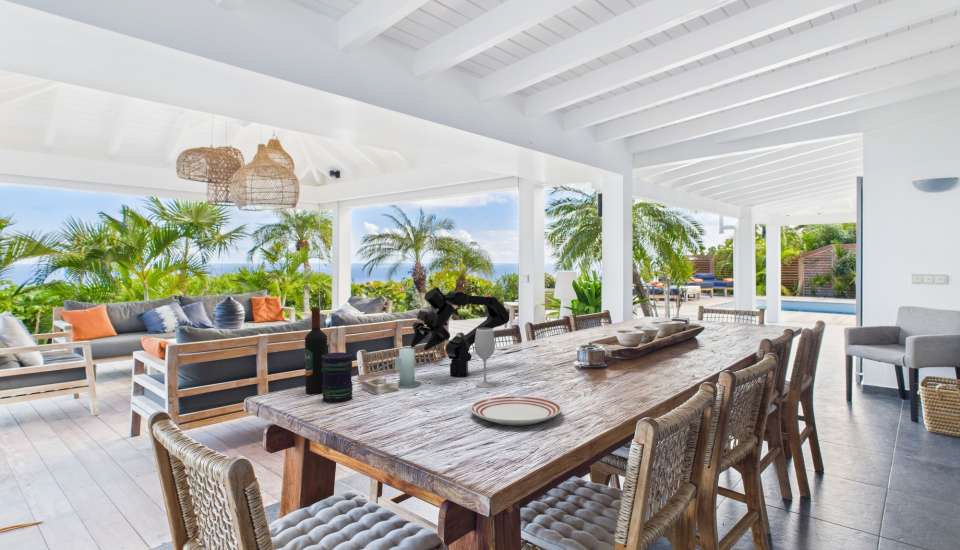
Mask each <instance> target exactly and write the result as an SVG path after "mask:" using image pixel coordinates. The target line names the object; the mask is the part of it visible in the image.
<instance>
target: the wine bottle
mask: <svg viewBox="0 0 960 550" xmlns="http://www.w3.org/2000/svg"><path fill="white" fill-rule="evenodd" d="M324 354H328V337H327V334H326V333H325V332H323V331H322V329H321V307H320V306H311V329H310V331H309V332H308V333H307V334H306V335H305V336H304V361H305V362H304V365H305V367H304V370H305V371H304V373H305V393H306V394H307V395H320V394H322V384H323V373H322V360H323V359H322V355H324ZM322 395H323V394H322Z"/></svg>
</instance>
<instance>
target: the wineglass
mask: <svg viewBox="0 0 960 550" xmlns="http://www.w3.org/2000/svg"><path fill="white" fill-rule="evenodd" d="M494 333H495V332H494V328H493V329H492V328H477V330H476V336H475V343H474V352H475V354H477V356H478V357H479V359H481V360H482V361H483V380H482V381H480V382H476V383H475V385H476V386H475V387H477V386H478V388H493V387H494V386H495V383H493V382H490V381H489V382H488V381H487V380H488V379H487V371H486V370H487V360H488V359H490V357H491V358H492V355H493V354H494V353H495V349H496V341H495V334H494Z"/></svg>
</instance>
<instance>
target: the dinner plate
mask: <svg viewBox="0 0 960 550" xmlns="http://www.w3.org/2000/svg"><path fill="white" fill-rule="evenodd" d="M562 410H563V407H562V406H561V404H559V402H556V401H554V400H550V399H548V398H544V397H538V396H529V395H502V396H501V395H499V396H493V397H487V398H483V399H480V400H477V401H473V403H471V404H470V406H469V411H470V413H472V414H474V416H477V417H478V418H479V419H480V418H481V419H483V420H487V421H488V422H491V423H494V424H498V425H504V426H529V425H533V424H534V425H535V424H539V423H541V422H543V421H547V420H550V419H552V418H555V416H557V415H559V414H560V413H561V412H562Z"/></svg>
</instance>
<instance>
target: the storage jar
mask: <svg viewBox="0 0 960 550" xmlns="http://www.w3.org/2000/svg"><path fill="white" fill-rule="evenodd" d="M352 357H353V354H352V353H350V352H331V353H330V352H329V353H327V354H324V355H322V359H323V360H322V373H323V384H322V402H323V403H325V402H326V403H325V404H341V403H342V402H343V403H347V401H348V402H350V401H352V400H353V389H354V388H353V385H354V384H353V381H352V371H353V360H352V359H353V358H352ZM351 399H352V400H351Z"/></svg>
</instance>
